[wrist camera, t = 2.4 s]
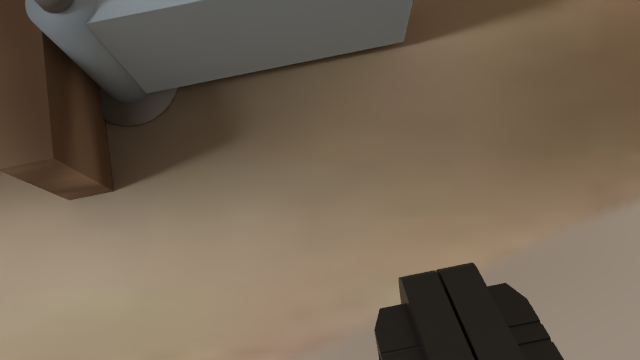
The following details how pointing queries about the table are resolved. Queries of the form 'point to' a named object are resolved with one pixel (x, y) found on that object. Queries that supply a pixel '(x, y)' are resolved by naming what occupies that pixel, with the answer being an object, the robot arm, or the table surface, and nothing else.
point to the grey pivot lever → (211, 37)
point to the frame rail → (57, 110)
